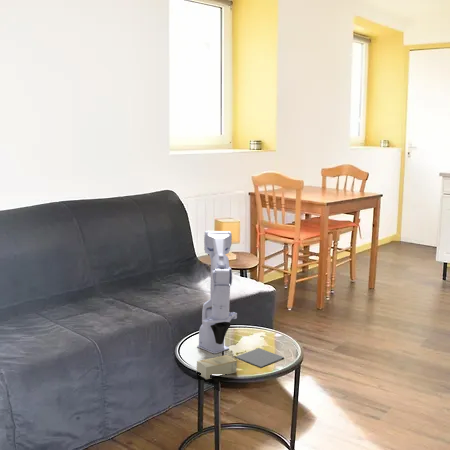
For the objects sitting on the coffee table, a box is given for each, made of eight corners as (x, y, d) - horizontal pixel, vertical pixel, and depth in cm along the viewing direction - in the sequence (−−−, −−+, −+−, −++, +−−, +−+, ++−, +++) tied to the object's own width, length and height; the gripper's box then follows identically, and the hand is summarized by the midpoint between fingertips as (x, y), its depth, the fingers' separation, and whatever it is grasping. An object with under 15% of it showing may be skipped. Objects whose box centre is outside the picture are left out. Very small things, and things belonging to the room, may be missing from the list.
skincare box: (237, 360, 192) (207, 367, 185) (236, 373, 192) (206, 380, 185) (226, 354, 197) (196, 360, 190) (226, 366, 197) (196, 373, 190)
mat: (235, 357, 205) (235, 356, 205) (258, 349, 214) (258, 348, 214) (260, 367, 197) (260, 366, 197) (284, 358, 206) (284, 357, 206)
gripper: (214, 311, 181) (212, 352, 184) (244, 302, 192) (242, 341, 194) (198, 306, 186) (197, 345, 188) (228, 298, 197) (227, 335, 199)
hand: (219, 343), depth 192 cm, fingers closed
